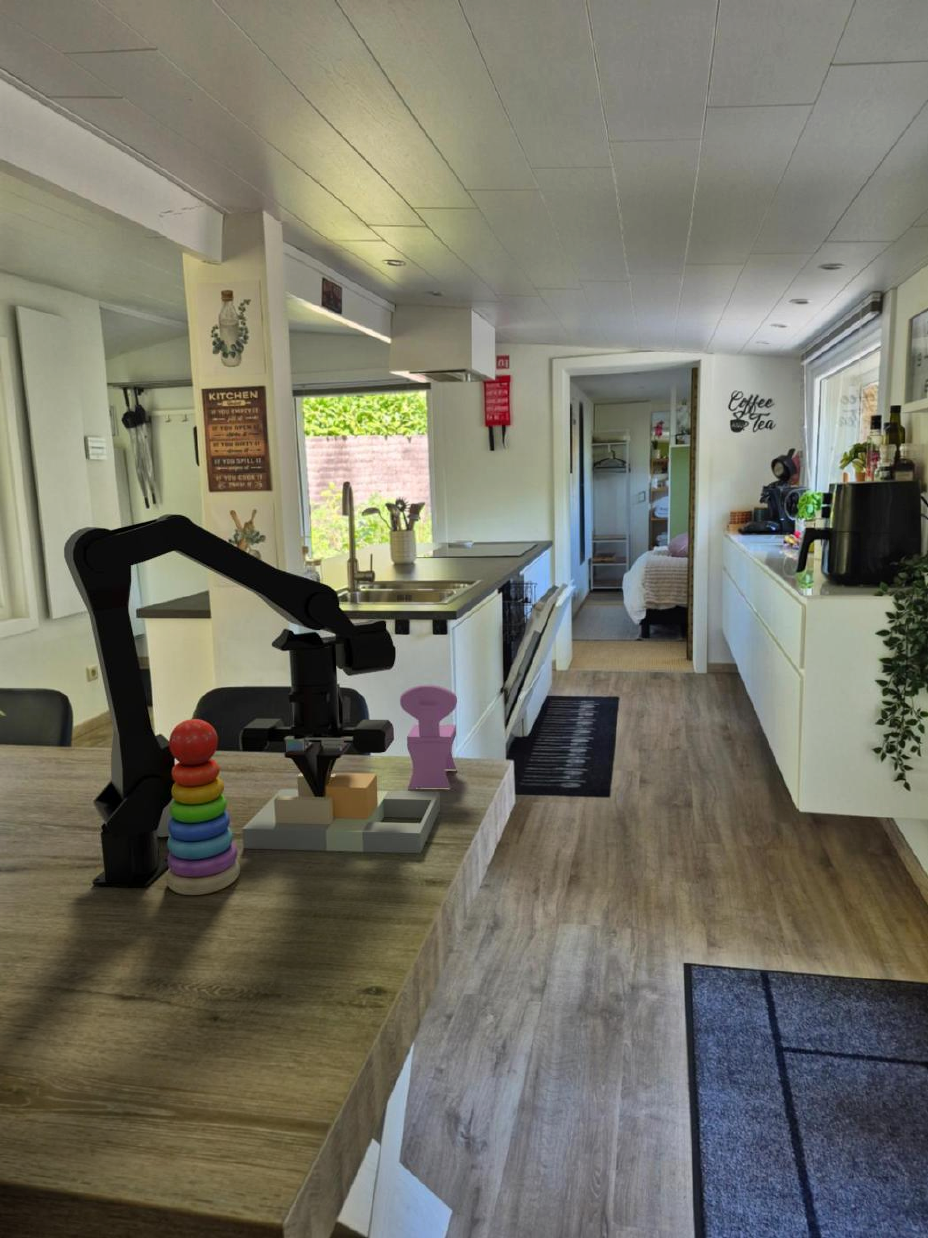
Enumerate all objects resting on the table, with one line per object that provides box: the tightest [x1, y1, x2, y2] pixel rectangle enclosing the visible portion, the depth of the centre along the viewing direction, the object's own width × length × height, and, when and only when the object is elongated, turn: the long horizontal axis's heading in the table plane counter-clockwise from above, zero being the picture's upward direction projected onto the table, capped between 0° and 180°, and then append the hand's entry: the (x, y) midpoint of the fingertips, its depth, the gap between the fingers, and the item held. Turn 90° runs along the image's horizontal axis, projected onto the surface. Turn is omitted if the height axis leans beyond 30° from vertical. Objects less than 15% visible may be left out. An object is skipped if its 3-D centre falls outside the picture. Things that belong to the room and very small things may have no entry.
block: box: [326, 772, 378, 819], centre depth 110 cm, size 5×5×4 cm
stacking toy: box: [165, 718, 241, 896], centre depth 95 cm, size 8×8×19 cm
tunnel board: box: [241, 772, 441, 854], centre depth 110 cm, size 14×22×6 cm, turn 82°
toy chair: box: [399, 684, 458, 790], centre depth 127 cm, size 8×9×15 cm
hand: (320, 800), depth 111 cm, fingers closed
